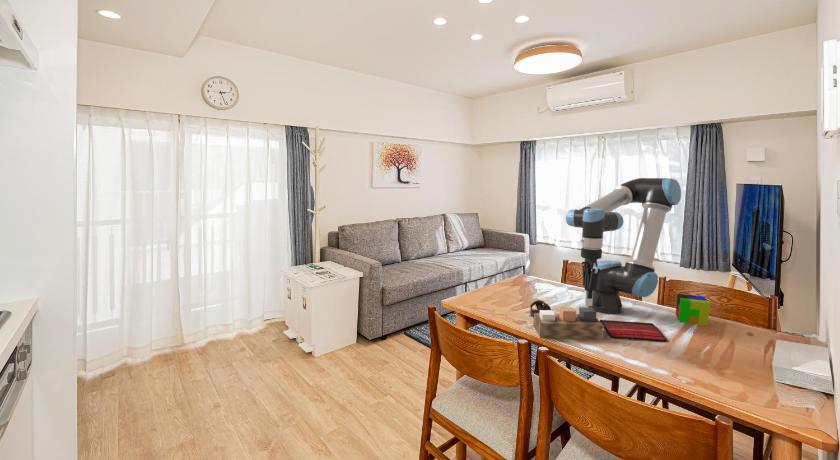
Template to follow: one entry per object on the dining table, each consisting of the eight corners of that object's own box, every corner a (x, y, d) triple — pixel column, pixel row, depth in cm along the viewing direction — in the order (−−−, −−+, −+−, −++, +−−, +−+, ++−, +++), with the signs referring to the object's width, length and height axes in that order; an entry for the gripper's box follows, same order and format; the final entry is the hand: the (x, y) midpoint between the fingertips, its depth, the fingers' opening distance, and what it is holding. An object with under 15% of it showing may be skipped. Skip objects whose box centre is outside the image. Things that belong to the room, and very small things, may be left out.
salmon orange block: (571, 321, 158) (571, 307, 157) (575, 325, 153) (576, 311, 152) (558, 320, 158) (559, 306, 157) (562, 325, 153) (563, 311, 152)
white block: (551, 324, 158) (551, 310, 158) (554, 329, 154) (555, 314, 153) (539, 323, 159) (539, 310, 158) (541, 328, 154) (542, 314, 153)
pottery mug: (556, 320, 170) (550, 306, 167) (536, 328, 172) (529, 314, 169) (549, 305, 181) (542, 292, 178) (530, 312, 183) (523, 299, 180)
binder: (599, 318, 165) (652, 322, 162) (599, 324, 166) (652, 327, 162) (610, 335, 150) (669, 339, 146) (610, 341, 150) (668, 345, 147)
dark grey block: (591, 321, 157) (591, 307, 156) (595, 326, 152) (596, 311, 151) (578, 321, 157) (579, 307, 157) (582, 325, 153) (583, 311, 152)
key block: (591, 327, 161) (592, 314, 160) (602, 339, 150) (602, 324, 149) (533, 326, 162) (534, 313, 161) (539, 337, 151) (540, 323, 151)
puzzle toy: (702, 318, 171) (704, 296, 170) (707, 326, 162) (710, 303, 161) (675, 314, 175) (677, 293, 174) (679, 322, 166) (681, 300, 165)
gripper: (576, 244, 157) (573, 299, 160) (587, 251, 144) (584, 310, 148) (595, 245, 156) (591, 300, 160) (608, 251, 144) (604, 311, 147)
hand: (588, 305), depth 154 cm, fingers closed
